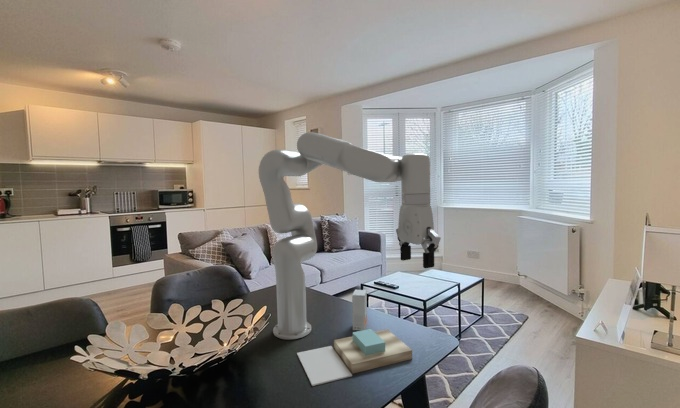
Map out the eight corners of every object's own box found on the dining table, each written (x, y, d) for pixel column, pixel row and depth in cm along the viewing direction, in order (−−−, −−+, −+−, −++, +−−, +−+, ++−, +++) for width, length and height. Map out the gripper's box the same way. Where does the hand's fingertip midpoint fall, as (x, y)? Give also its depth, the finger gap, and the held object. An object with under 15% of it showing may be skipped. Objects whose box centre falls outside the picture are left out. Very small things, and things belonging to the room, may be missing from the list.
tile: (352, 340, 96) (352, 332, 96) (370, 336, 98) (370, 328, 98) (365, 355, 88) (365, 346, 87) (385, 350, 90) (385, 342, 90)
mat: (297, 354, 94) (296, 352, 94) (331, 346, 97) (331, 345, 97) (312, 386, 79) (312, 384, 79) (352, 376, 83) (352, 374, 83)
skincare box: (365, 331, 107) (364, 295, 106) (352, 330, 108) (351, 295, 107) (367, 323, 113) (366, 289, 112) (355, 322, 114) (354, 289, 113)
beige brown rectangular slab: (334, 348, 97) (333, 340, 97) (387, 336, 103) (387, 329, 103) (352, 373, 84) (352, 364, 83) (412, 358, 90) (412, 350, 90)
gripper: (386, 200, 93) (387, 258, 94) (426, 202, 78) (427, 273, 79) (407, 198, 96) (408, 255, 97) (450, 200, 81) (450, 268, 82)
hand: (416, 263), depth 88 cm, fingers open, 9 cm apart
